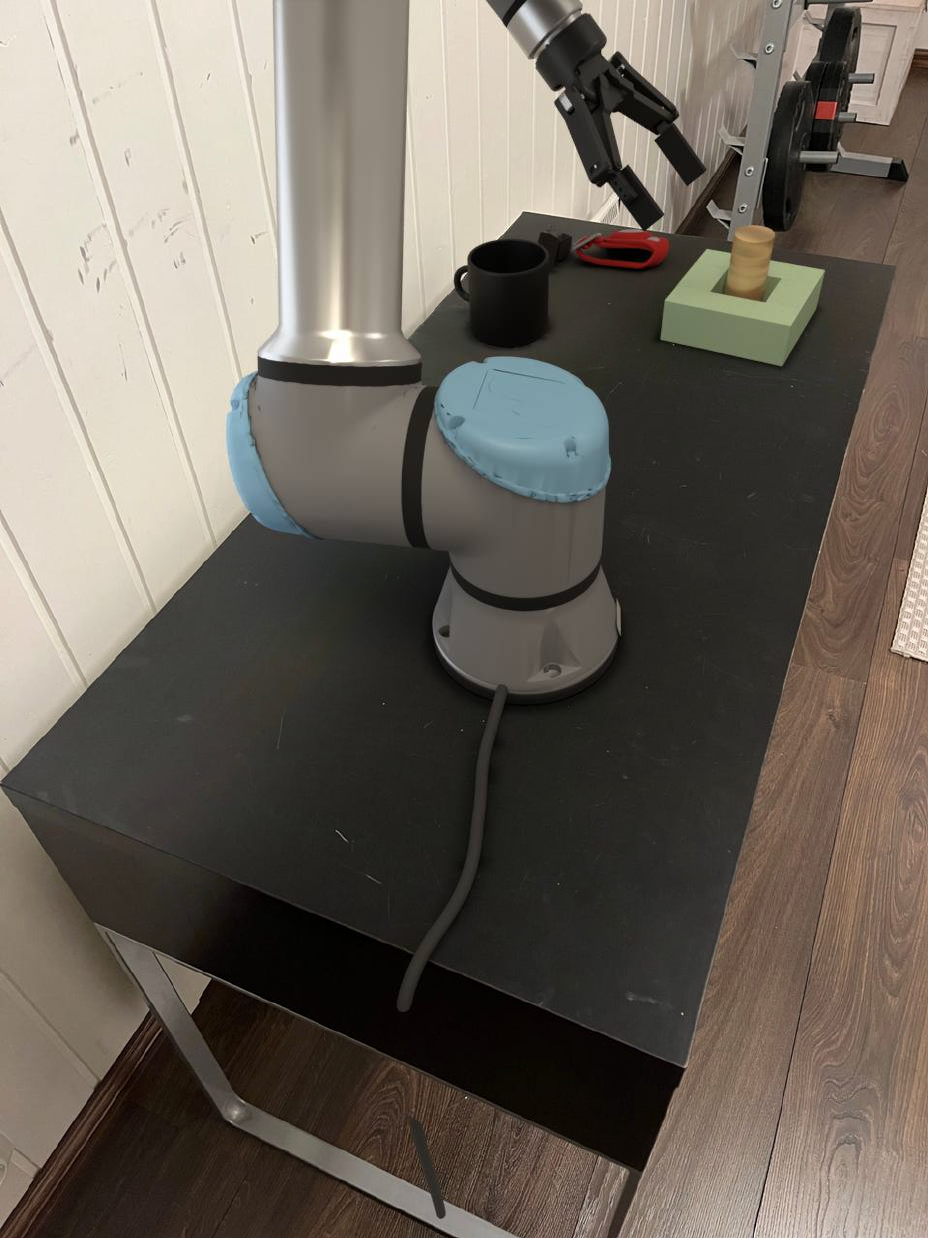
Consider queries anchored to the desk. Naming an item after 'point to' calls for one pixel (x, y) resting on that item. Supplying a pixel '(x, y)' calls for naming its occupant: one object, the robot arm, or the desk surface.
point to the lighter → (555, 244)
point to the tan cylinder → (749, 262)
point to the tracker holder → (625, 240)
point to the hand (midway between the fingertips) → (676, 200)
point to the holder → (741, 310)
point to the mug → (507, 291)
